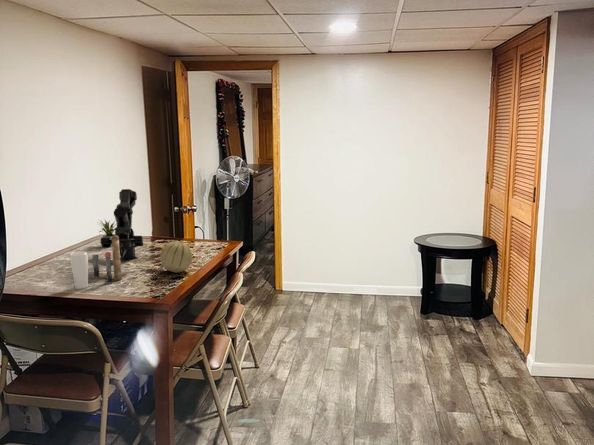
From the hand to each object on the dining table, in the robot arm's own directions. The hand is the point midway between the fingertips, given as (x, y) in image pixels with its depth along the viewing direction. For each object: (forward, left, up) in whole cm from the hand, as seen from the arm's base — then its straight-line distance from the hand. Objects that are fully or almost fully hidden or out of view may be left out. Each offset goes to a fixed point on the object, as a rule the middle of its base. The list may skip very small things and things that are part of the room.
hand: (121, 257), depth 242 cm
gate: (+9, +2, -7) cm, 11 cm away
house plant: (-29, -49, -8) cm, 58 cm away
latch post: (+12, +7, -8) cm, 16 cm away
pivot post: (+10, -5, -8) cm, 14 cm away
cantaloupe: (-15, +20, -8) cm, 26 cm away
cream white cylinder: (+24, +3, -8) cm, 25 cm away
